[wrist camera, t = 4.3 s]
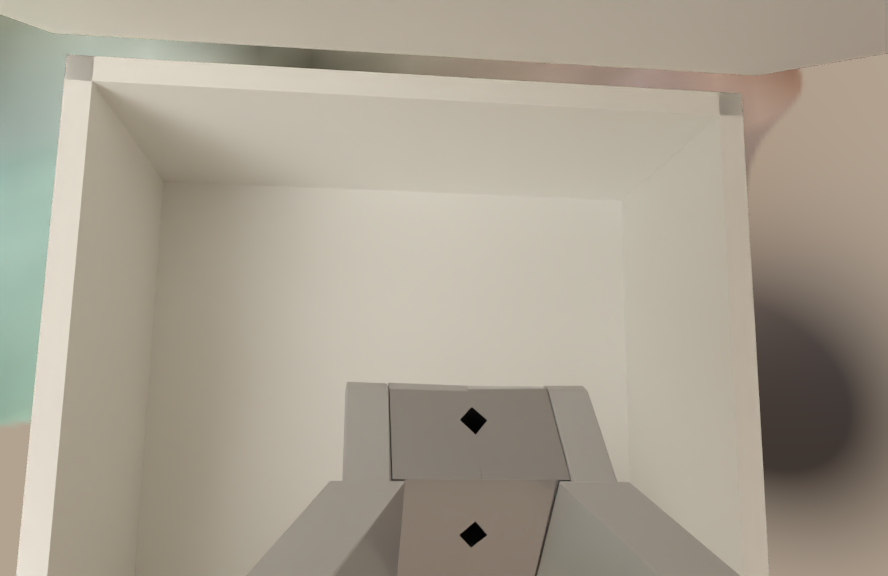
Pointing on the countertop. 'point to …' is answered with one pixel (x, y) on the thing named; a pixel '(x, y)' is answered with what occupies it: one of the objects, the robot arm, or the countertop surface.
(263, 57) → the countertop surface
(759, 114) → the countertop surface
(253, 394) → the box
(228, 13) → the mailer lid
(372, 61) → the countertop surface
